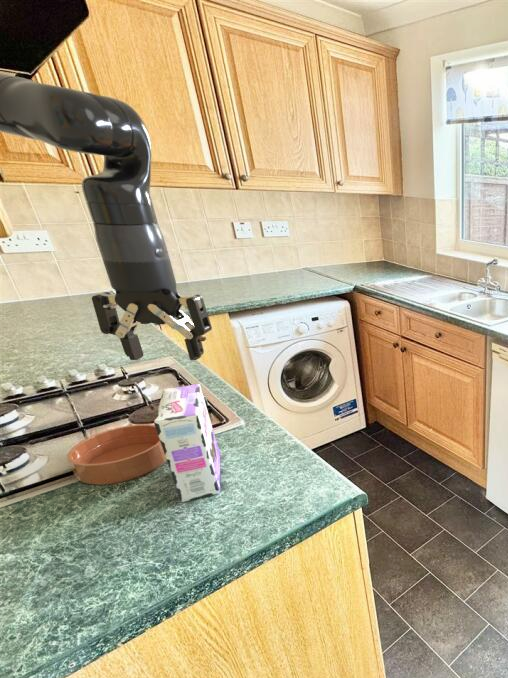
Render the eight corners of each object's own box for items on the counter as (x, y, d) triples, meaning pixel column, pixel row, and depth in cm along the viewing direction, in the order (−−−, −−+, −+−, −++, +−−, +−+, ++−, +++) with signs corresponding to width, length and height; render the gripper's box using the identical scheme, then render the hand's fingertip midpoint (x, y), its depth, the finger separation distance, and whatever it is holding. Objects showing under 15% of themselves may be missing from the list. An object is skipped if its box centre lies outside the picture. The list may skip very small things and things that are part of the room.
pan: (54, 488, 74) (44, 467, 72) (110, 444, 87) (103, 425, 85) (145, 483, 76) (138, 463, 74) (187, 441, 89) (181, 423, 87)
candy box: (221, 494, 75) (197, 414, 68) (180, 504, 72) (151, 422, 65) (221, 454, 86) (201, 381, 79) (186, 462, 83) (161, 387, 76)
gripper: (203, 254, 66) (225, 351, 72) (99, 249, 63) (132, 350, 70) (176, 262, 59) (203, 367, 66) (58, 257, 57) (99, 367, 63)
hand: (167, 358), depth 68 cm, fingers open, 8 cm apart
